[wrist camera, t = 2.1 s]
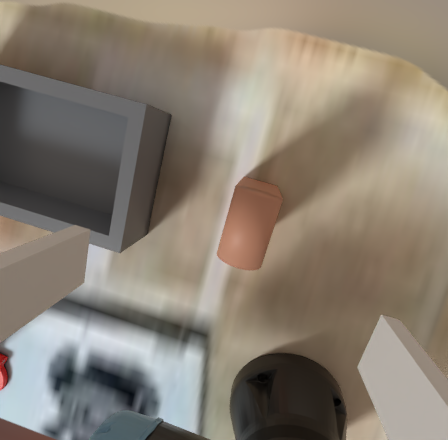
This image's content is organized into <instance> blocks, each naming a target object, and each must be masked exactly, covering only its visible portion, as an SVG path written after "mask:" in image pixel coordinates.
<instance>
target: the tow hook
mask: <svg viewBox="0 0 448 440" xmlns="http://www.w3.org/2000/svg"><path fill="white" fill-rule="evenodd" d="M7 359H8V357H7V356H5V355H3V354H1V353H0V390H2V389H3V388H4V387H5V385H6V384H7V379H8V376H7V371H6V369H5V367H4V363H5V362H6V361H7Z"/></svg>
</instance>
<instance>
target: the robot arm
mask: <svg viewBox="0 0 448 440" xmlns="http://www.w3.org/2000/svg"><path fill="white" fill-rule="evenodd" d="M89 238H90V229H87V228H84V227H80V226H77V225H74V226H71V227H68V228H66V229H63V230H60V231H58V232H55V233H52V234H50V235H47V236H45V237H42V238H39V239H37V240H34V241H31V242H29V243H26V244H23V245H21V246H18V247H16V248H13V249H10V250H8V251H5V252H2V253H0V343H1V342H2V341H4V340H5V339H6V338H8V337H9V336H11V335H12V334H13V333H15V332H16V331H18V330H19V329H20V328H22V327H23V326H24V325H26V324H27V323H29V322H30V321H31V320H33V319H34V318H36V317H37V316H38V315H40V314H41V313H43V312H44V311H45V310H47V309H48V308H50V307H51V306H52V305H54V304H55V303H57V302H58V301H59V300H61V299H62V298H63V297H65V296H66V295H68V294H69V293H70V292H72V291H73V290H75V289H76V288H77V287H79V286H80V285H82V284H83V283H84V278H85V270H86V262H87V254H88V246H89ZM357 368H358V370H359V372H360V375H361V377H362V379H363V382H364V384H365V386H366V389H367V391H368V393H369V396H370V398H371V400H372V403H373V405H374V407H375V410H376V412H377V414H378V417H379V419H380V421H381V424H382V426H383V428H384V430H385V433H386V435H387V437H388V440H448V379H447V378H446V376H445V375H444V374H443V373H442V371H441V370H440V369H439V368H438V366H437V365H436V364H435V363H434V362H433V360H432V359H431V358H430V357H429V355H428V354H427V353H426V352H425V350H424V349H423V348H422V347H421V345H420V344H419V343H418V342H417V340H416V339H415V338H414V337H413V336H412V334H411V333H410V332H409V331H408V329H407V328H406V327H405V326H404V324H403V323H402V322H401V321H400V320H399V319H395V318H392V317H388V316H385V315H382V314H381V316H380V318H379V321H378V323H377V325H376V327H375V329H374V331H373V334H372V336H371V338H370V340H369V342H368V345H367V347H366V349H365V351H364V353H363V356H362V358H361V360H360V362H359V364H358V367H357ZM230 415H231V420H232V425H233V430H234V434H235V439H236V440H346V429H347V412H346V406H345V403H344V399H343V396H342V393H341V390H340V388H339V385H338V384H337V382H336V380H335V379H334V378H333V376H332V375H331V374H330V373H329V372H328V371H327V370H326V369H325V368H323V367H322V366H321V365H319V364H317V363H316V362H314V361H312V360H310V359H307V358H305V357H302V356H298V355H293V354H271V355H266V356H263V357H260V358H257V359H255V360H253V361H251V362H250V363H248V364H247V365H246V366H244V367H243V368H242V369H241V371H240V372H239V373H238V374H237V376H236V378H235V380H234V382H233V385H232V390H231V397H230ZM89 440H210V439H207V438H205V437H202V436H200V435H197V434H194V433H192V432H189V431H187V430H184V429H182V428H179V427H177V426H174V425H172V424H169V423H166V422H164V421H163V419H161V418H157V419H155V418H152V417H149V416H145V415H142V414H139V413H136V412H133V411H129V410H124V411H119V412H117V413H115V414H113V415H112V416H110V417H109V418H108V419H107V420H105V421H104V422H103V423H102V424H101V425H100V426H99V428H98V429H97V430H96V431H95V432H94V433H93V435H92V436H91V437H90V438H89Z"/></svg>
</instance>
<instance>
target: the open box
mask: <svg viewBox="0 0 448 440" xmlns="http://www.w3.org/2000/svg"><path fill="white" fill-rule="evenodd" d="M170 119H171V114H168V113H166V112H164V111H161V110H159V109H156V108H154V107H152V106H149V105H147V104H143V103H140V102H136V101H132V100H129V99H125V98H121V97H118V96H114V95H110V94H107V93H103V92H99V91H96V90H92V89H88V88H85V87H81V86H77V85H74V84H70V83H66V82H63V81H59V80H55V79H52V78H48V77H44V76H40V75H37V74H33V73H29V72H26V71H22V70H18V69H15V68H11V67H7V66H4V65H0V215H1V216H4V217H7V218H10V219H13V220H16V221H20V222H23V223H26V224H29V225H32V226H35V227H39V228H42V229H45V230H48V231H51V232H58V231H60V230H63V229H66V228H68V227H71V226H74V225H77V226H80V227H84V228H87V229H90V238H89V244H93V245H96V246H99V247H102V248H105V249H108V250H112V251H115V252H118V253H121V252H122V251H124V250H125V249H127V248H128V247H130V246H131V245H133V244H134V243H135V242H137V241H138V240H140V239H141V238H143V237H144V236H146V235H147V233H148V228H149V223H150V218H151V213H152V208H153V203H154V198H155V193H156V188H157V183H158V178H159V174H160V169H161V164H162V159H163V154H164V149H165V144H166V139H167V134H168V129H169V124H170Z"/></svg>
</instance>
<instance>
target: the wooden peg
mask: <svg viewBox="0 0 448 440" xmlns="http://www.w3.org/2000/svg"><path fill="white" fill-rule="evenodd" d="M282 201H283V199H282V196H281V194H280V191H279V189H278V186H276V185H272V184H269V183H265V182H262V181H258V180H255V179H251V178H248V177H243V178H242V180H241V181H240V182H239V183H238V184H237V185H236V186H235V190H234V194H233V197H232V201H231V204H230V208H229V212H228V215H227V219H226V222H225V226H224V229H223V233H222V237H221V240H220V244H219V247H218V251H217V256H218V257H219V258H220V259H221V260H222V261H223V262H225V263H227V264H229V265H231V266H233V267H236V268H240V269H244V270H257V269H259V268H261V265H262V262H263V259H264V256H265V253H266V250H267V247H268V244H269V241H270V238H271V235H272V232H273V229H274V226H275V223H276V220H277V217H278V214H279V211H280V208H281V204H282Z"/></svg>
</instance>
